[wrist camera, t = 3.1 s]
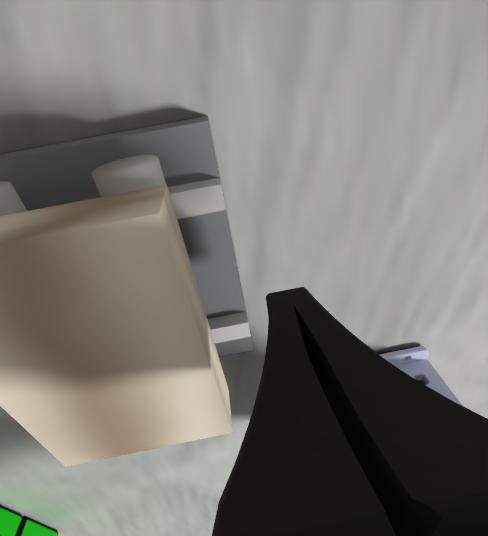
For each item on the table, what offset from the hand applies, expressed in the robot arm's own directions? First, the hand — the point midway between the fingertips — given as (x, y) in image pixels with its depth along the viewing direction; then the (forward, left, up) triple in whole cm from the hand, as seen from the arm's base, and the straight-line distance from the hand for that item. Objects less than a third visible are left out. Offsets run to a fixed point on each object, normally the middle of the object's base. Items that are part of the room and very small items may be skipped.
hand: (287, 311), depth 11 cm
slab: (+6, 0, -3) cm, 7 cm away
